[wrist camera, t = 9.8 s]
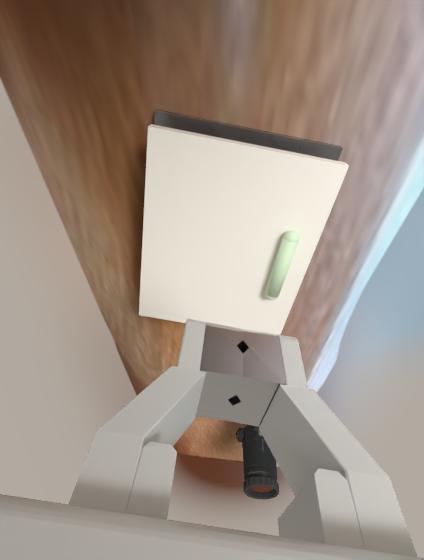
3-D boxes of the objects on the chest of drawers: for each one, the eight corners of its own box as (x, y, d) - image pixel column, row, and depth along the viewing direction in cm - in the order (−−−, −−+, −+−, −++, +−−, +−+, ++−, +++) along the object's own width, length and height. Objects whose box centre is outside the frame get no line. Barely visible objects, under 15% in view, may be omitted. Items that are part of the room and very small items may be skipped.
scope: (299, 478, 46) (281, 505, 52) (287, 394, 57) (273, 424, 63) (243, 471, 46) (231, 498, 51) (242, 388, 57) (233, 418, 63)
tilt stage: (151, 124, 29) (143, 129, 26) (345, 162, 29) (354, 171, 27) (141, 308, 41) (135, 323, 39) (277, 332, 42) (279, 348, 39)
